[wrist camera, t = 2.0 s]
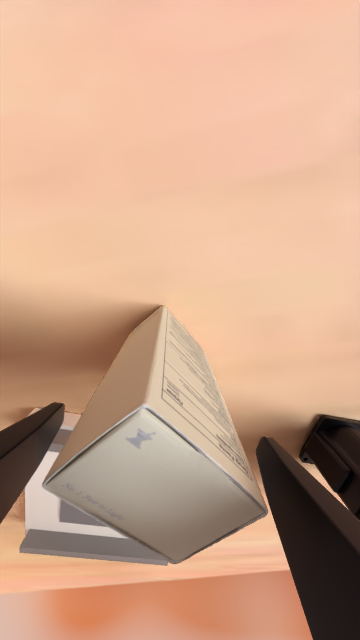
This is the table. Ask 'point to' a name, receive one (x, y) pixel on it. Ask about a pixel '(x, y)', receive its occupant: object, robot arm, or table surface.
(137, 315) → the table surface
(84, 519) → the stand
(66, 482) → the skincare box
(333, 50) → the table surface
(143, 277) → the table surface
